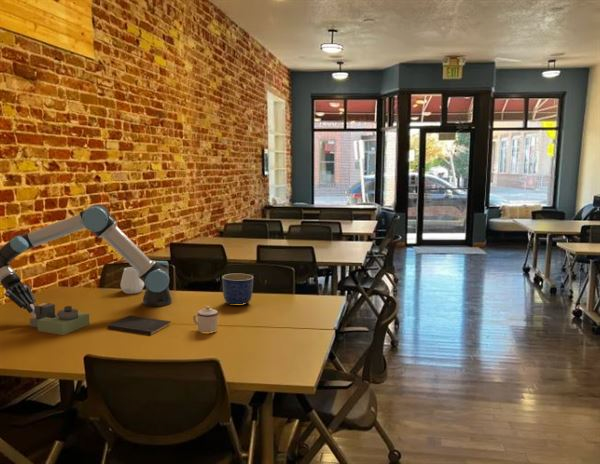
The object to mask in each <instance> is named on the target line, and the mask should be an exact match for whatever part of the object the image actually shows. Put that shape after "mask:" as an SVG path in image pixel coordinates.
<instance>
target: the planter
mask: <svg viewBox="0 0 600 464" xmlns="http://www.w3.org/2000/svg"><path fill="white" fill-rule="evenodd" d="M221 279H222V280H221V281H222V294H223V295H222V296H223V299H224V301H225V302H226V303H227V304H228V303H229V304H243V303H247V302H248V303H250V301H251V300H252V297H253V290H254V289H253V288H254V275H252V274H248V273H247V274H246V273H228V274H224V275H222V277H221ZM248 303H247V304H248ZM229 304H228V305H229Z"/></svg>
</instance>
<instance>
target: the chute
mask: <svg viewBox="0 0 600 464" xmlns="http://www.w3.org/2000/svg"><path fill="white" fill-rule="evenodd" d="M34 314H36V319H42V318H45V317H48V318H55V315H56V304H53V303H51V302H43V303H39V304H37V305H35V306H34Z"/></svg>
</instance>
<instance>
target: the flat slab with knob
mask: <svg viewBox="0 0 600 464" xmlns="http://www.w3.org/2000/svg"><path fill="white" fill-rule="evenodd" d="M29 324H30V327H31V328H32V327H34V328H37V332H40V333H48V334H54V335H60V336H65V335H67V334H70V333H72V332H75V331H76V330H80V329H82V328H83V327H87V326H89V325H90V313H85V312H79V310H78V309H76V308H72V305H65V306H64V307H63V309H61V310H58V311H57V312H56V314H55V318H48V317H45V318H42V319H35V318H34V317H32V318H30V319H29Z"/></svg>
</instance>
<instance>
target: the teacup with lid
mask: <svg viewBox="0 0 600 464" xmlns="http://www.w3.org/2000/svg"><path fill="white" fill-rule="evenodd" d="M218 314H219V312H218V310H216V309H213V308H212V307H211V306H210V305H206V306H205V308H202V309H200V310H198V311H197V313H195V314H194V315H193V316H192V320H193V323H194V324H195V325H197V332H198V331H200V332H211V331H215V330H217V331H218ZM196 317H197V320H196Z"/></svg>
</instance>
